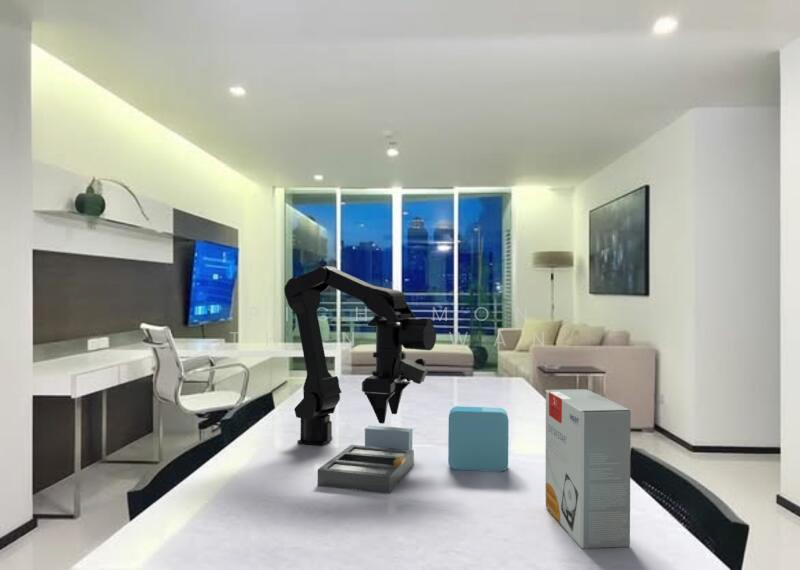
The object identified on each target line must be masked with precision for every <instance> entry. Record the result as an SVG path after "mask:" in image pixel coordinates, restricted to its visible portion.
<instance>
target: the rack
mask: <svg viewBox="0 0 800 570" xmlns="http://www.w3.org/2000/svg"><path fill="white" fill-rule="evenodd" d="M414 452H415V451H414V449H412V450H405V449H394V448H383V447H371V446H365V445H361V444H360V445H359V444H358V445H356V444H350V445H349V446H347V447H346V448H345V449H343V450H342V451H341V452H339V453H338V454H337V455H335V456H334V457H332V458H331V459H329V460H328V461H327V462H325V463H324V464H323V465H322V466H320V467H318V468H317V486H318V487H326V488H336V489H344V490H353V491H363V492H372V493H379V494H380V493H381V494H387V495H388V494H390V493H392V491H393V490H394V489H395V487H396V486H397V485H398V484H399V482H401V480H403V478H404V477H405V476H406V475H407V474H408V472H409V471H410V470H411V468H412V467H413V466H414V463H415V461H414V460H415V453H414Z"/></svg>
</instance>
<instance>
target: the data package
mask: <svg viewBox="0 0 800 570" xmlns="http://www.w3.org/2000/svg"><path fill="white" fill-rule="evenodd" d="M447 443H448V445H447V446H448V450H447V451H448V454H447V455H448V456H447V460H448V465H449V467H450V468H452V469H453V470H458V471H476V472H477V471H478V472H479V471H481V472H499V473H500V472H505V471H506V470H507V468H508V467H509V416H508V413H507V411H506V410H505V409H504V408H501V407H485V406H483V407H482V406H462V405H461V406H460V405H459V406H457V405H456V406H453V407H452V408H451V409H450V410H449V414H448V442H447Z"/></svg>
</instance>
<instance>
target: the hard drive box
mask: <svg viewBox="0 0 800 570" xmlns="http://www.w3.org/2000/svg"><path fill="white" fill-rule="evenodd" d="M631 412H632V411H631V409H630V408H626V407H625V406H623V405H621V404H619V403H617V402H614V401H612V400H611V399H608V398H606V397H603V396H601V395H600V394H597V393H595V392H593V391H591V390H589V389H585V388H584V389H580V388H579V389H577V388H576V389H573V388H572V389H545V507H546V508H547V509H548V511H549V512H550V514H551V515H552V517H553V518H554V519H556V520H557V521H558V523H559V524H561V527H563V528H564V530H565V531H566V532H567V533H568V535H569V537H570V538H571V539H573V541H575V543H576V544H577V545H578V546H579V547H580V548H581V549H596V548H598V549H599V548H602V549H603V548H625V547H626V548H627V547H628V548H629V547H630V545H631V543H630V542H631V428H632V427H631V421H632V420H631Z"/></svg>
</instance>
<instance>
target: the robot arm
mask: <svg viewBox="0 0 800 570" xmlns="http://www.w3.org/2000/svg"><path fill="white" fill-rule="evenodd" d="M329 287H331V288H333V289H335V290H337V291H339V292H342V293H344V294H346V295H347V296H350V297H351V298H354V299H357V300H359V301H360V302H361V303H363V304H364V306H365V307H366V308H367V310H370V311H371V312H372V313H373V314H375V315H374V316H373V318H372V319H371V320H370V321H369V322H367V326H368V327H375V328H376V329H375V334H376V335H375V351H374V352H373V353H372V354H373V355H372V357H373V358H375V370H373V371H372V375H370V376H368V377H366V378H364V379H363V381H362V382H361V392H363V393H364V396H366V398H367V399H368V402H369V403H370V405H371V407H372V410H373V412H374V414H375V416H376V419H377V421H378V423H379V424H382V425H383V424H385V422H386V419H387V418H386V417H387V410H388V405H389V409H390V411H391V415H397V414H398V411H399V406H400V403H401V399H402V395H403V391H404V390H405V389H406V388H407V387H408V386H409V385H410V384H411V381H412V382H413V383H414V384H417V385H420V384H422V383H424V381H425V379H426V376H427V374H428V372H429V367H428V366H427V362H426V359H424V358H421V357H419V358H417V359H416V360H415V361H414V360H413V359H407V356H406V352H405V351H403V348H404V349H406V350H419V351H432V350H433V348H434V347H435V345H436V341H437V333H436V329H435V327H434V325H433V324H432V318H430V317H424V318H416V315H415V314H414V312H413V311H412V310H411V308H410V305H409V304H408V303H407V299H406V295H405V294H404V293H403V292H402V291H400V290H396V289H392V288H388V287H387V288H386V287H383V286H382V287H381V286H376V285H373V284H371V283H368V282H366V281H364V280H361V279H359V278H358V277H356V276H353V275H351V274H348V273H347V272H344V271H341V269H337V268H336V267H335V266H327V265H322V266H319V267H317V268H316V269H314V270H312V271H309V272H307V273H303V274H301V275H299V276H297V277H291V278H290V279H288V280H287V281H286V284H285V285H284V288H283V289H284V290H283V291H284V292H283V293H284V296H285V299H286V301H287V305H288V307H289V308H290V309H291V310H292V311H293V313H294V314H295V317H296V321H297V326H298V333H299V337H300V343H301V348H302V353H303V359H304V366H305V371H306V377H305V381H304V384H303V388H302V392H303V398H302V399H301V401H300V402H299V403H298V404H297V405H296V406H295V407H294V413H295V416H296V418H297V419H300V439H298V440H297V441H296V442H297V444H302V445H303V444H304V445H314V446H323V445H325V444H327V443H328V442H330V441H331V440H332V439H333V436H332V434H333V433H332V431H333V430H332V429H333V428H332V425H333V424H332V423H333V422H332V421H331V415H330V414H334V413H335V409H336V406H337V405H338V404H339V402H340V399H341V393H343V392H342V390H341V388H340V380H339V377H338V376H337V375H336V376H332V374H331V373H330V372H329V370H328V365H327V360H326V356H325V355H326V354H325V349H324V344H323V339H322V332H321V328H320V327H321V326H320V323H319V322H320V321H319V317H318V315H319V314H318V310H319V307H320V304H321V294H322V293H323V292H326V291H327V290H328V289H329ZM405 380H406V381H405Z"/></svg>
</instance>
